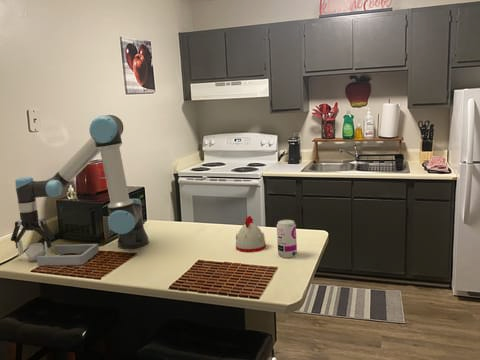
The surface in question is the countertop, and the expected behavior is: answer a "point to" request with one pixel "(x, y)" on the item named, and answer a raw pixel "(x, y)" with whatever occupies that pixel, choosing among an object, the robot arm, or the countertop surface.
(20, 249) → the robot arm
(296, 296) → the countertop surface
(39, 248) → the die
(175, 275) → the countertop surface
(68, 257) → the channel
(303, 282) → the countertop surface
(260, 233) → the kitchen timer
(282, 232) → the supplement can
